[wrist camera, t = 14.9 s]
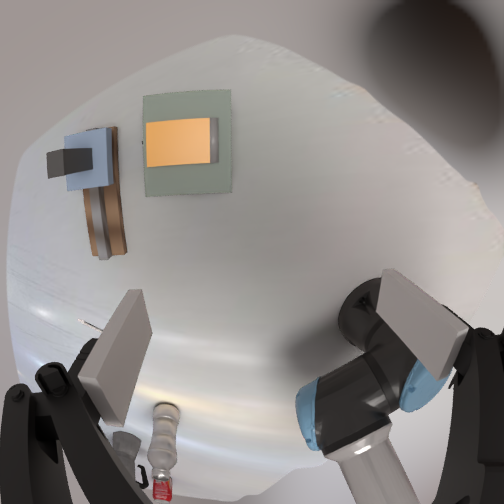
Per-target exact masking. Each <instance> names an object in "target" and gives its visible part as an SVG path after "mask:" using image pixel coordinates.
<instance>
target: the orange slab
mask: <svg viewBox="0 0 504 504" xmlns="http://www.w3.org/2000/svg"><path fill="white" fill-rule="evenodd" d="M146 154H147V167H156V166H167V165H181V164H198V163H219V136H218V118H195V119H180V120H169V121H159V122H150V123H146Z"/></svg>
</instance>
